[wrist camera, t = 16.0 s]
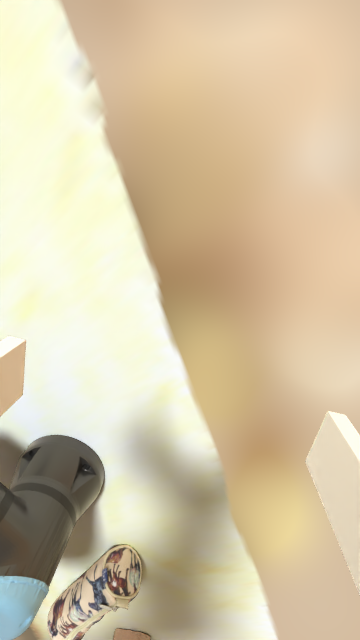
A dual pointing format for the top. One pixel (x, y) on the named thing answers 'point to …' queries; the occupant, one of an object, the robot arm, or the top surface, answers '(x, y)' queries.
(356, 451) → the robot arm
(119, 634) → the brick
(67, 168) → the top surface
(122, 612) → the top surface
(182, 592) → the top surface
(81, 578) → the pencil case
